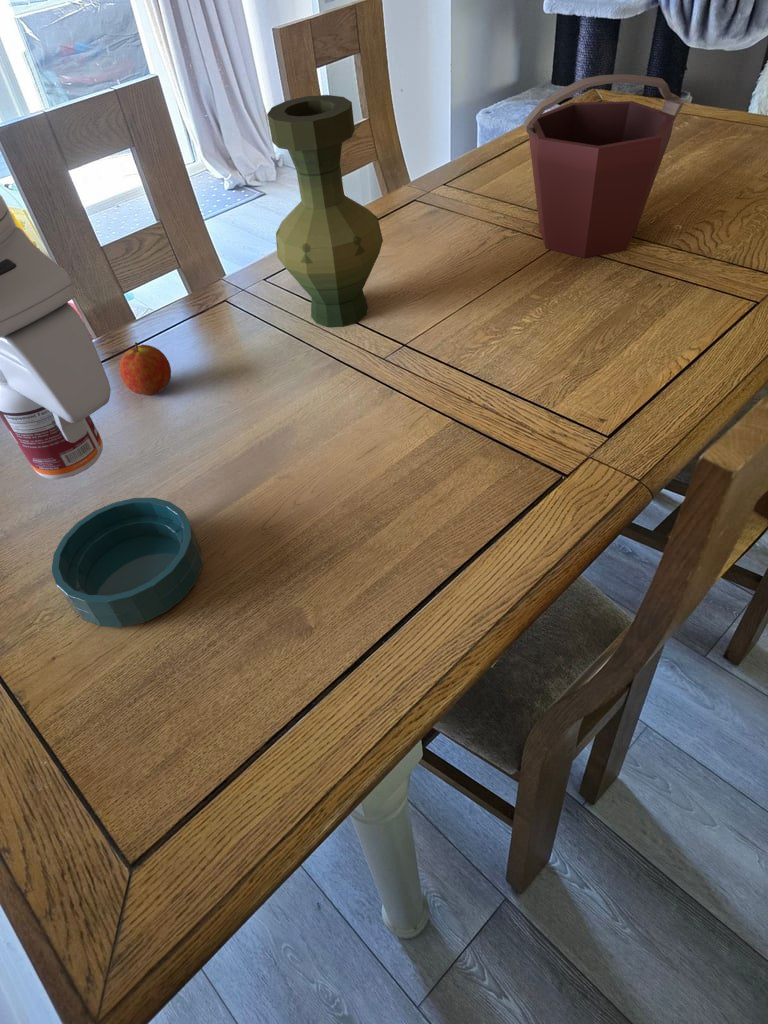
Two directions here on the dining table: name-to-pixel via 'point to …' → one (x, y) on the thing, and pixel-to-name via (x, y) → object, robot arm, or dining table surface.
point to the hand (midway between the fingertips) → (49, 421)
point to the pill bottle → (46, 436)
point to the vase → (324, 211)
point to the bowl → (127, 562)
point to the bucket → (596, 165)
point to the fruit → (145, 370)
